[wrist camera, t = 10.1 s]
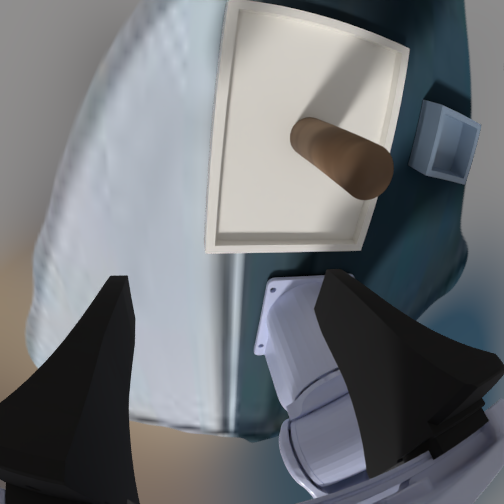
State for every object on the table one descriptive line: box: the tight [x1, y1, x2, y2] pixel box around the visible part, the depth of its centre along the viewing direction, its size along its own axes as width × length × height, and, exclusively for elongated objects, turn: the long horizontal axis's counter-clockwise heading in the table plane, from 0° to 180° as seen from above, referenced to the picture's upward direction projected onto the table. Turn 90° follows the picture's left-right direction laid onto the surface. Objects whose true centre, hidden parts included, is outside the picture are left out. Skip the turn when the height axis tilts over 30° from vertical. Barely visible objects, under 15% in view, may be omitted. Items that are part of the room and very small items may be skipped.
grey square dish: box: [408, 100, 481, 185], centre depth 19 cm, size 6×6×2 cm
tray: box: [204, 0, 410, 254], centre depth 17 cm, size 16×12×1 cm
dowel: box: [290, 117, 394, 200], centre depth 15 cm, size 3×3×7 cm
